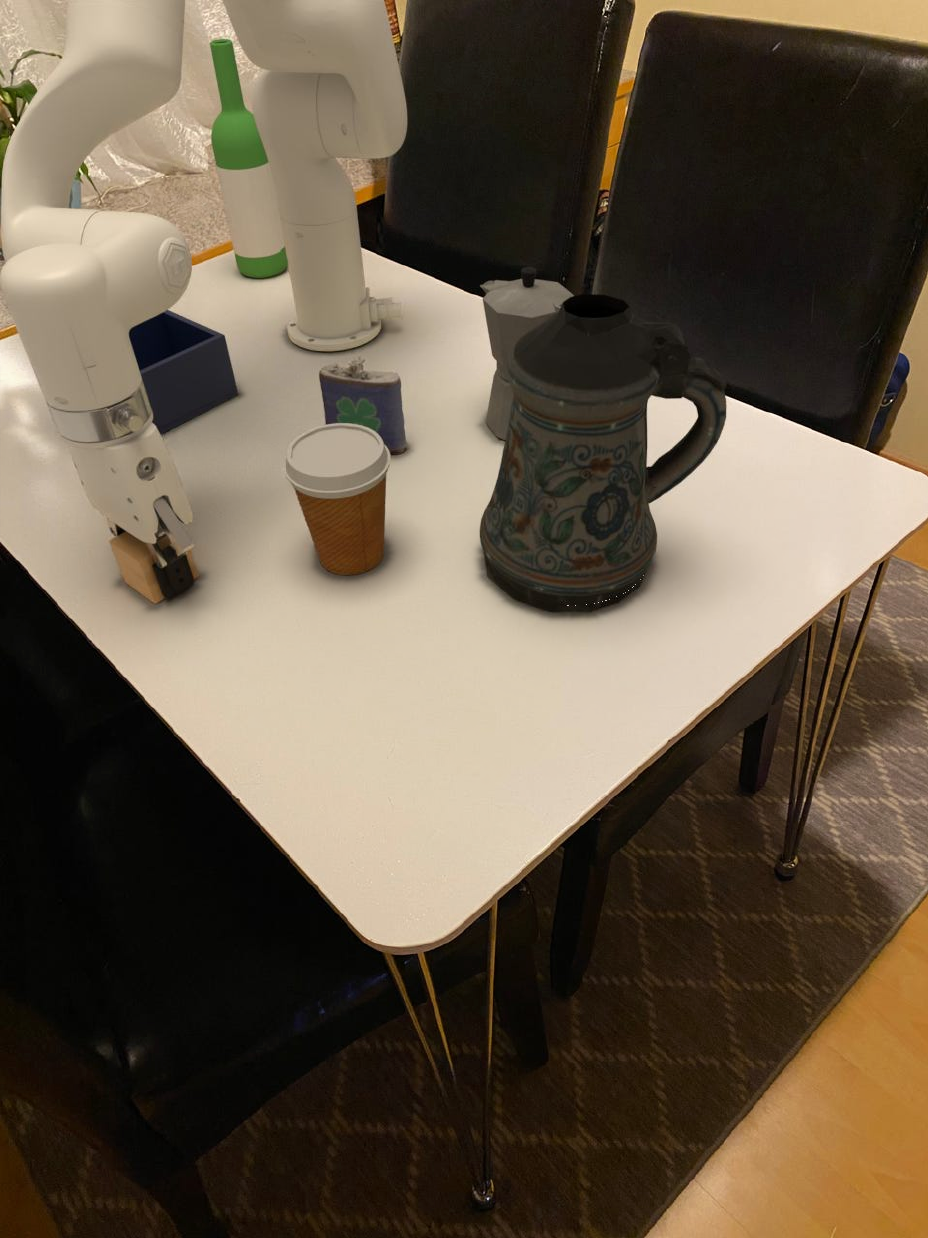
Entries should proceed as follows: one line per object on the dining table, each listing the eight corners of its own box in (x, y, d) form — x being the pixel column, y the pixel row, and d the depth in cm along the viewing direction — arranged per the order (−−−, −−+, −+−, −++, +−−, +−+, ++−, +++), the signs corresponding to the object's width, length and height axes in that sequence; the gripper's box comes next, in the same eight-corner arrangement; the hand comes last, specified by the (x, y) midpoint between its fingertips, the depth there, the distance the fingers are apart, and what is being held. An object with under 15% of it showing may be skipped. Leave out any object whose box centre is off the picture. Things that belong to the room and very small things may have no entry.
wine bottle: (296, 260, 139) (260, 34, 119) (278, 281, 134) (236, 48, 113) (250, 257, 141) (206, 33, 120) (230, 278, 135) (179, 47, 115)
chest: (177, 364, 116) (161, 306, 111) (238, 394, 110) (224, 334, 105) (70, 414, 108) (47, 354, 103) (130, 450, 102) (109, 388, 96)
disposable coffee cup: (304, 528, 90) (283, 424, 82) (399, 520, 91) (388, 416, 82) (300, 591, 83) (277, 484, 75) (402, 582, 84) (390, 475, 75)
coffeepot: (456, 419, 104) (449, 265, 92) (511, 388, 109) (511, 237, 96) (558, 470, 96) (566, 308, 84) (612, 434, 101) (627, 276, 88)
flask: (409, 444, 101) (401, 356, 93) (401, 458, 99) (392, 369, 91) (333, 434, 103) (319, 347, 95) (323, 448, 101) (308, 361, 93)
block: (168, 555, 88) (154, 514, 84) (199, 576, 85) (186, 535, 82) (124, 582, 85) (108, 541, 82) (155, 604, 83) (139, 563, 79)
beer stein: (455, 529, 89) (443, 282, 72) (629, 484, 94) (657, 242, 77) (521, 637, 78) (525, 376, 61) (715, 580, 83) (770, 321, 65)
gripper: (203, 423, 70) (249, 594, 83) (84, 359, 79) (142, 524, 91) (121, 465, 66) (182, 639, 79) (5, 394, 75) (77, 561, 87)
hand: (160, 575), depth 85 cm, fingers closed on block, 5 cm apart
